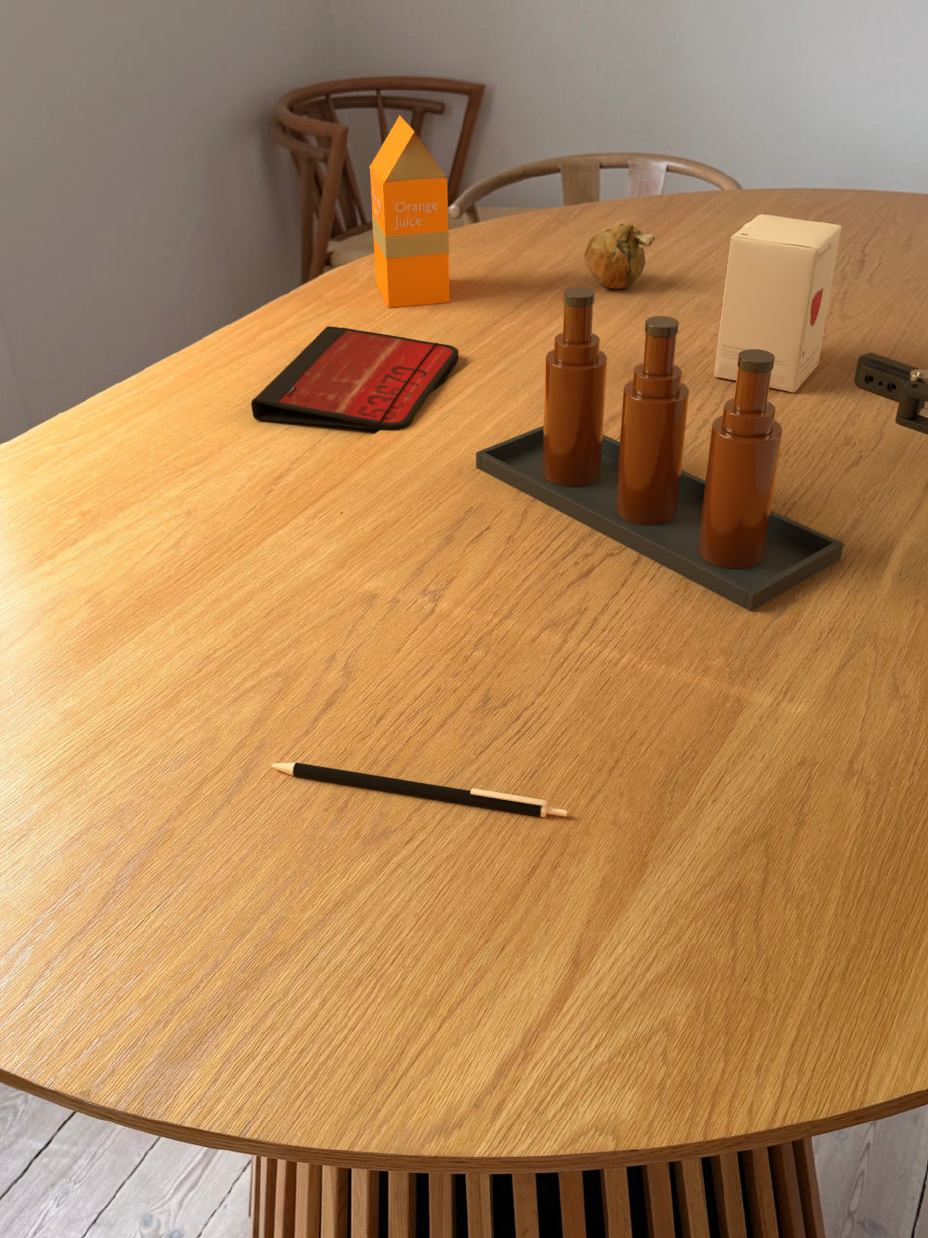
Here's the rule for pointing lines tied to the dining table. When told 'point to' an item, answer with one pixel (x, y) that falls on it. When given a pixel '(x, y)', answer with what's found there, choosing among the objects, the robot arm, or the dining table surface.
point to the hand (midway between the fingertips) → (897, 350)
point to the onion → (617, 255)
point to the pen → (423, 789)
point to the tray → (666, 524)
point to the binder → (356, 381)
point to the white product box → (777, 296)
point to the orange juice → (409, 221)
